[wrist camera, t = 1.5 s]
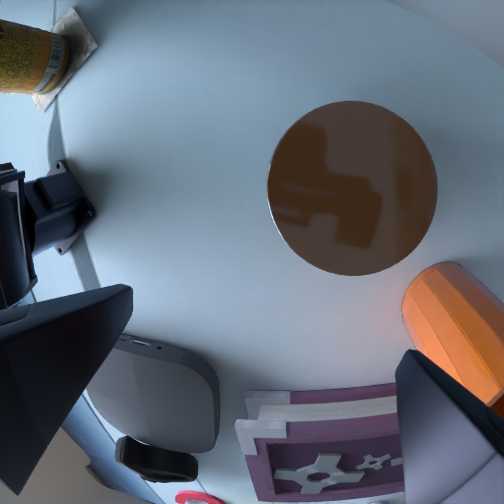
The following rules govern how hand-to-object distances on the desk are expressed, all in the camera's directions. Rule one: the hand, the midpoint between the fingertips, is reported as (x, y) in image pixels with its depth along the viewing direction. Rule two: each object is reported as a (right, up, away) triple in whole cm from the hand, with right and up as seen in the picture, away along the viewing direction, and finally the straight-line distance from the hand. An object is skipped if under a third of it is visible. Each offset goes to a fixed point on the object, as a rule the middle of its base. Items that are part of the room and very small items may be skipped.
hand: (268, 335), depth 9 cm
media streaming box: (-11, -12, +20) cm, 26 cm away
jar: (+6, +7, +11) cm, 14 cm away
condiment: (-18, +20, +10) cm, 29 cm away
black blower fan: (-7, -23, +20) cm, 32 cm away
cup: (+15, -2, +12) cm, 19 cm away
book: (+12, -17, +18) cm, 27 cm away
